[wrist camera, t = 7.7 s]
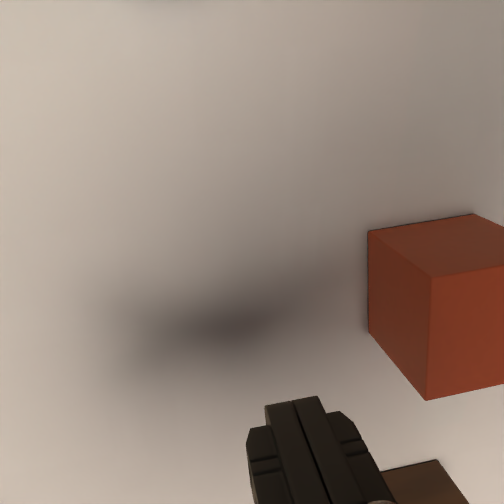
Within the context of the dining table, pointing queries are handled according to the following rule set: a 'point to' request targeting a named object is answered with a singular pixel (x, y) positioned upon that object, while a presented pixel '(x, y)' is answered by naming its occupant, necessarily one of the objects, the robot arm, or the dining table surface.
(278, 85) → the dining table surface
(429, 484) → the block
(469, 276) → the middle block
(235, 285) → the dining table surface
